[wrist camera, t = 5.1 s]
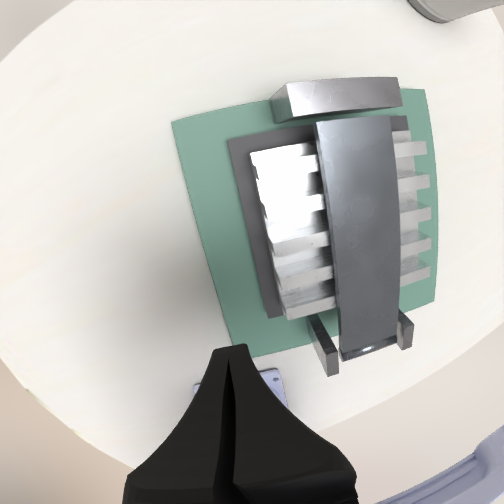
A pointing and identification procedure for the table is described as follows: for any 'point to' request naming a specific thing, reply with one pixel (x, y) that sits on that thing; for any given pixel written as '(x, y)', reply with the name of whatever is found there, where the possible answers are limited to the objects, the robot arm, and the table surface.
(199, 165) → the circuit board
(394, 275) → the flat metal bar
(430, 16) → the travel mug
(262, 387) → the robot arm
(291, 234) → the heat sink
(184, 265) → the table surface
